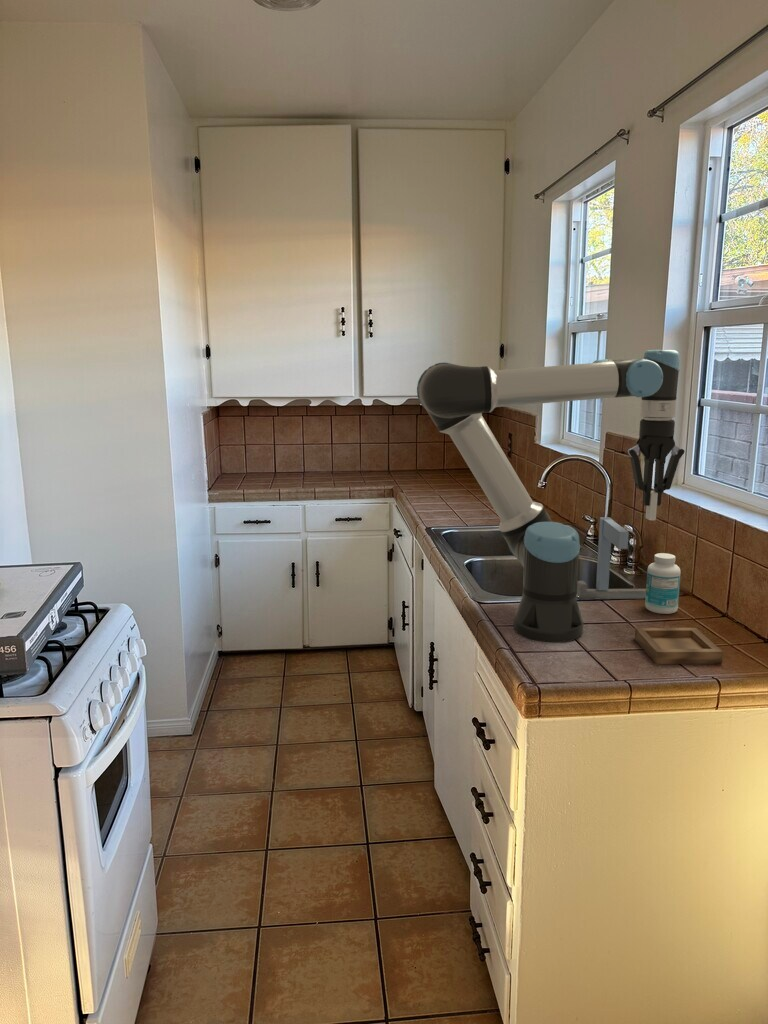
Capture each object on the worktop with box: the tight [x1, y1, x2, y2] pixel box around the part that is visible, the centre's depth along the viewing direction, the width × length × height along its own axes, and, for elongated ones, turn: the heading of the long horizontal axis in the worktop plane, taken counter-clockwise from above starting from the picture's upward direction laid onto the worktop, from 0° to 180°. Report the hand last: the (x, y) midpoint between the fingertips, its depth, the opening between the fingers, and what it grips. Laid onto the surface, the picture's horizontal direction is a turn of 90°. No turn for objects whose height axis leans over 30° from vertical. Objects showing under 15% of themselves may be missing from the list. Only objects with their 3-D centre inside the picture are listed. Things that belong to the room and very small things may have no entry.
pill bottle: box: [644, 552, 682, 615], centre depth 175 cm, size 8×7×14 cm
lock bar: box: [595, 516, 629, 590], centre depth 176 cm, size 2×15×18 cm, turn 0°
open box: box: [634, 627, 724, 665], centre depth 151 cm, size 13×13×2 cm
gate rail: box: [577, 580, 646, 601], centre depth 184 cm, size 23×3×4 cm, turn 90°
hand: (650, 518), depth 173 cm, fingers closed
